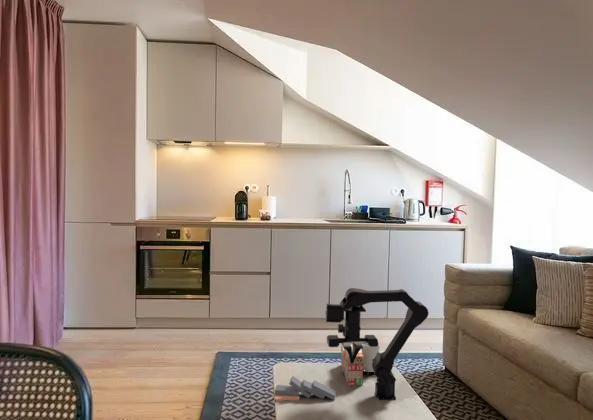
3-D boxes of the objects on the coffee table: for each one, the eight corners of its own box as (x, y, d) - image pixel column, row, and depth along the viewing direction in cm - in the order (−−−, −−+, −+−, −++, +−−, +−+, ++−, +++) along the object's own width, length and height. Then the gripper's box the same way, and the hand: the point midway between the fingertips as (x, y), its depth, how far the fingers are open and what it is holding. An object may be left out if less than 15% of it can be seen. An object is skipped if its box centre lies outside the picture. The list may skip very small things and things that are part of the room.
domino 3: (311, 389, 174) (292, 375, 174) (311, 395, 169) (291, 380, 170) (309, 393, 174) (290, 378, 175) (308, 398, 169) (289, 384, 170)
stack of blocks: (340, 365, 203) (341, 338, 202) (354, 365, 203) (355, 338, 202) (347, 385, 181) (348, 355, 181) (363, 385, 182) (363, 355, 181)
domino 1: (299, 386, 174) (276, 384, 175) (298, 391, 169) (274, 390, 170) (299, 390, 174) (276, 388, 175) (298, 396, 169) (274, 394, 170)
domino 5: (335, 390, 173) (314, 380, 174) (335, 396, 169) (313, 385, 169) (333, 394, 174) (312, 383, 174) (333, 400, 169) (312, 389, 169)
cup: (382, 369, 198) (382, 342, 197) (375, 375, 191) (375, 347, 190) (365, 365, 202) (365, 339, 201) (357, 371, 195) (358, 344, 195)
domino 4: (324, 389, 174) (303, 379, 174) (325, 395, 169) (303, 385, 169) (322, 393, 174) (301, 383, 174) (323, 399, 169) (301, 388, 169)
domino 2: (297, 391, 173) (273, 392, 172) (299, 397, 169) (275, 398, 167) (297, 395, 173) (273, 397, 172) (299, 401, 169) (275, 402, 167)
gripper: (371, 316, 180) (370, 354, 181) (325, 316, 178) (324, 355, 179) (379, 324, 169) (377, 365, 170) (329, 325, 167) (328, 366, 168)
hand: (351, 363), depth 172 cm, fingers closed
